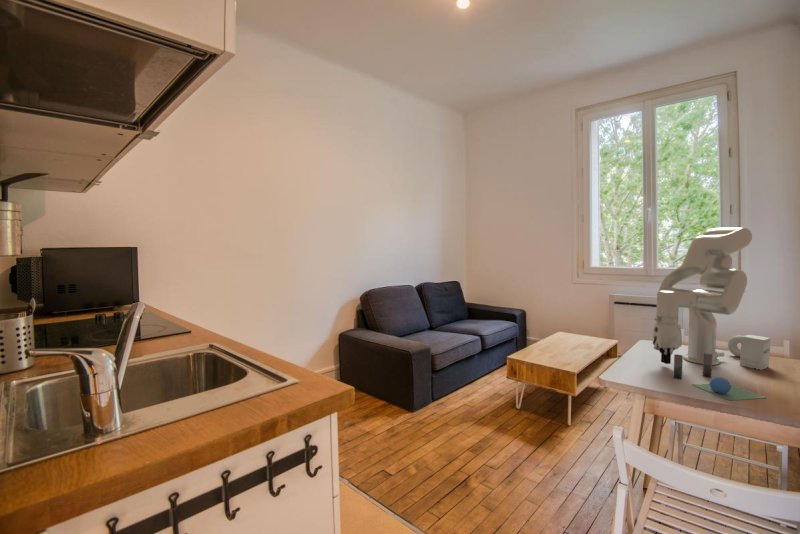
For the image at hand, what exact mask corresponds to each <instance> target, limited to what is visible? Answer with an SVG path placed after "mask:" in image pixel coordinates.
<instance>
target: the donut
mask: <svg viewBox="0 0 800 534" xmlns="http://www.w3.org/2000/svg"><path fill="white" fill-rule="evenodd" d="M742 336H743V335H733V336H731V337H730V338H729V340H728V341H727V349H728V350H729V352H730V353H731V354H732V355H734V356H736V357H737V358H740V354H741V348H739V346H738V345H739V344H741V337H742Z"/></svg>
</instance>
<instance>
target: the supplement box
mask: <svg viewBox="0 0 800 534" xmlns="http://www.w3.org/2000/svg"><path fill="white" fill-rule="evenodd" d="M741 336H742V337H741V343H740V350H741V354H740V357H739V366H741V365H742V366H743V367H745V366H746V368H749V369H754V368H756V369H755V370H758V369H760V370H759V371H762V370H764V369H768V368H769V367H770V357H771V339H772V338H771V337H767V336H759V335H754V334H747V335H741ZM742 366H741V367H742ZM767 367H768V368H767Z"/></svg>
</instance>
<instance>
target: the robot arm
mask: <svg viewBox="0 0 800 534" xmlns="http://www.w3.org/2000/svg"><path fill="white" fill-rule="evenodd" d="M752 240H753V233H752V231H751V230H750V229H749V228H747V227H742V226H741V227H740V226H739V227H736V226H735V227H716V228H715V227H714V228H713V227H712V228H709V229H706V230H705V231H703V234H702V235H699V236H696V237H694V238H693V239H692V241H691V243H690V246H689V247H688V250H687V252H686V255H685V256H684V259H683V261H682V264H681V265H680V266H679V267H677V268H675V269H673V270H672V271H671V272H670V273H669V274H667V275H666V276H665V277H664V278H663V280H662V282H661V284H660V285H659V289H658V291H657V293H656V312H655V313H656V314H655V315H656V317H655V318H654V321H655V323H654V326H653V329H652V330H653V332H652V345H653V350H655V351H659V353H660V354H661V355H660V357H661V358H660V362H661V363H663V364H665V365H668V364H671V360H672V355H673V352H675V350H678V349H679V348H680V347H682V344H683V340H682V339H683V338H682V337H683V336H682V328H681V325H680V323H679V309H680V308H684V309H688V336H687V339H688V340H687V342H688V343H687V354H683V355H682V356H683V360H685V361H688V362H691V363H694V364H701V365H703V358H704V353H709V354H712V366H714V365H715V366H716V365H719V364H720V363H721V361H720V359H718V357H722V358H723V357H725V356H726V355H725V352H723V351H716V347H717V328H718V327H717V326H718V323H717V319H716V317H715V315H714V314H718V315H719V314H720V315H725V316H729V315H733V314H734V313H736V312H737V310H738V308H739V306H740V304H741V301H742V298H743V296H744V293H745V291H746V288H747V284H748V276H747V274H746V272H745V271H743V270H742V269H738V268H731V266H732V263H733V257H732V256H731V254H734V253H736V252H738V251H740V250H742V249H744V248H746V247H747V246H749V245H750V244H751V242H752ZM698 276H700V277H699V285H700V286H701V287H703V289H702V288H700V289H699V288H698V289H694V290H689V289H683V288H676V287H677V285H678V284H679V283H681V282H683V281H684V280H687V279H690V278H694V277H698ZM704 288H706V289H704Z"/></svg>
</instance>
